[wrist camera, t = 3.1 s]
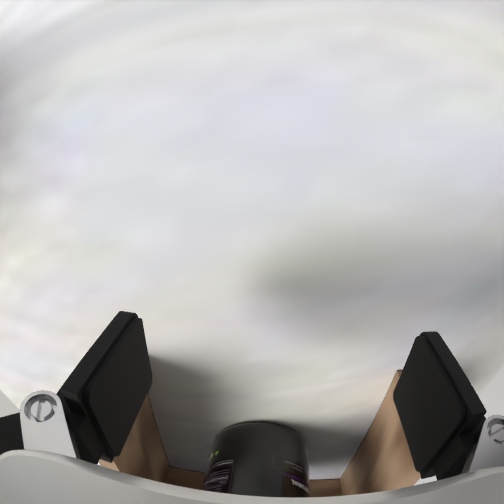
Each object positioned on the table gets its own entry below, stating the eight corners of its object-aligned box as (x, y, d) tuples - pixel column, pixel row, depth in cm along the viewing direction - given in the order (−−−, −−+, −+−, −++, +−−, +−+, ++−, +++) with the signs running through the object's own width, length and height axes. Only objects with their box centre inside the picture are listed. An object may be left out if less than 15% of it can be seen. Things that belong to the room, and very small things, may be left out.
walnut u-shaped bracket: (120, 349, 16) (75, 422, 11) (414, 369, 16) (447, 447, 10) (158, 469, 22) (142, 521, 16) (349, 483, 21) (354, 536, 16)
